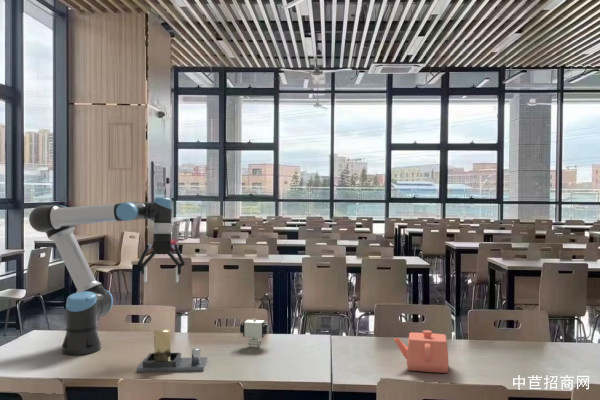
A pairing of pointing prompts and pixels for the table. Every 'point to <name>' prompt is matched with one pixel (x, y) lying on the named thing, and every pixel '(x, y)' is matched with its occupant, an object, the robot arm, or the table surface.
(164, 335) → the gold tapered block
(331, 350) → the table surface
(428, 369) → the teapot
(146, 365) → the base
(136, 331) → the table surface
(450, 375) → the table surface
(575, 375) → the table surface
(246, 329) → the pneumatic valve
